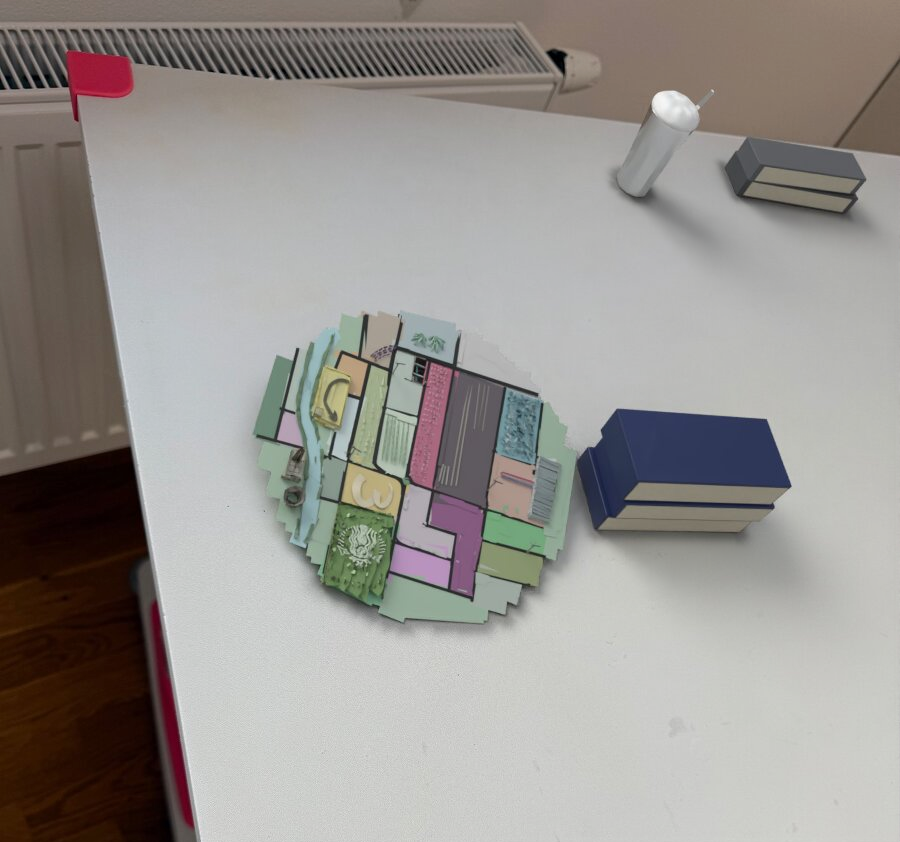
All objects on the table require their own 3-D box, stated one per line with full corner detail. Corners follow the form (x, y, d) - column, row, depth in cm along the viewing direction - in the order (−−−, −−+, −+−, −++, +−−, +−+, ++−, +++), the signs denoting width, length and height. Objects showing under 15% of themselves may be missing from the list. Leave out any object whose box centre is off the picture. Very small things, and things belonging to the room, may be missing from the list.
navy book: (746, 438, 75) (767, 418, 73) (771, 506, 72) (792, 487, 70) (599, 429, 70) (616, 408, 68) (620, 501, 68) (638, 481, 65)
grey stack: (832, 184, 103) (857, 153, 100) (846, 216, 102) (872, 185, 98) (722, 164, 98) (745, 131, 95) (735, 197, 96) (759, 164, 93)
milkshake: (667, 200, 92) (726, 109, 84) (624, 204, 90) (680, 111, 82) (645, 166, 94) (700, 73, 85) (602, 168, 91) (655, 73, 83)
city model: (257, 656, 60) (278, 626, 55) (204, 329, 66) (218, 273, 61) (597, 620, 70) (642, 591, 65) (523, 340, 77) (559, 293, 71)
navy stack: (722, 468, 78) (751, 439, 75) (745, 535, 76) (775, 508, 72) (575, 461, 73) (599, 430, 70) (595, 533, 71) (620, 504, 68)
